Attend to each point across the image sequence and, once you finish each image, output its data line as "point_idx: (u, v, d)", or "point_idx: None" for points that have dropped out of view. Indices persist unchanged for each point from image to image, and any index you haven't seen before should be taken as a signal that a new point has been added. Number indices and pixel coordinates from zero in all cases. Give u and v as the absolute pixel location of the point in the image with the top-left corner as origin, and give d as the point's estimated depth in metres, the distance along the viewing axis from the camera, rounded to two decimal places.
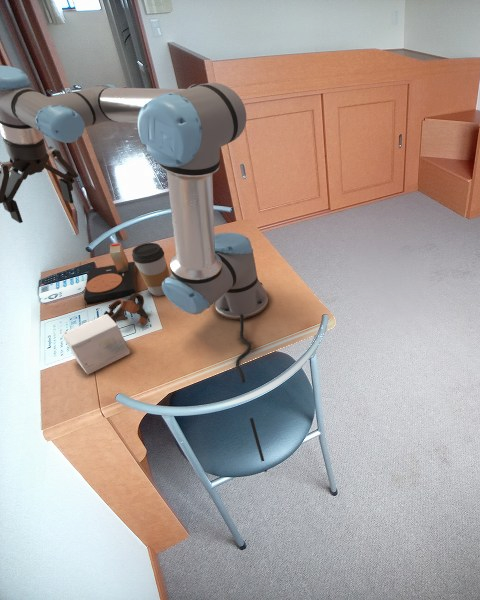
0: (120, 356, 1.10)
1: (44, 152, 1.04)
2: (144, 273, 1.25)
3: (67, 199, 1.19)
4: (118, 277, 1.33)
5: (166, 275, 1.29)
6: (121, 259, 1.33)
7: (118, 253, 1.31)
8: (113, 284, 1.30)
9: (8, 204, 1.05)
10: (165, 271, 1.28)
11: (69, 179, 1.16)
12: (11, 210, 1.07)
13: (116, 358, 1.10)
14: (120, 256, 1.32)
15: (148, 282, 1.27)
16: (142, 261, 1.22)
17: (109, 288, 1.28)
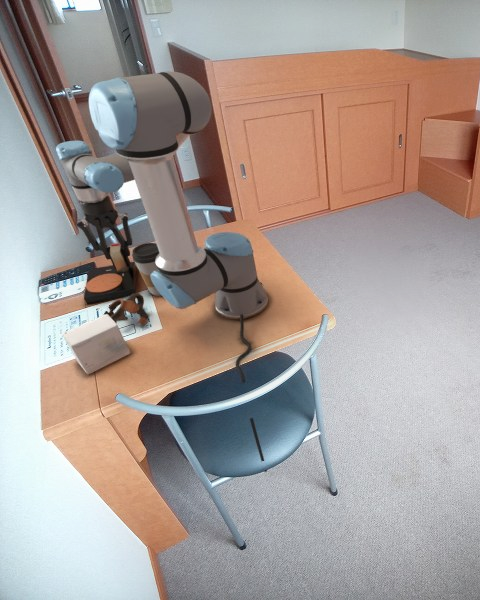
0: (120, 356, 1.10)
1: (103, 210, 1.22)
2: (144, 273, 1.25)
3: None
4: (118, 277, 1.33)
5: None
6: (121, 259, 1.33)
7: (118, 253, 1.31)
8: (113, 284, 1.30)
9: (105, 252, 1.32)
10: None
11: (123, 245, 1.32)
12: (108, 257, 1.33)
13: (116, 358, 1.10)
14: (120, 256, 1.32)
15: (148, 282, 1.27)
16: (142, 261, 1.22)
17: (109, 288, 1.28)
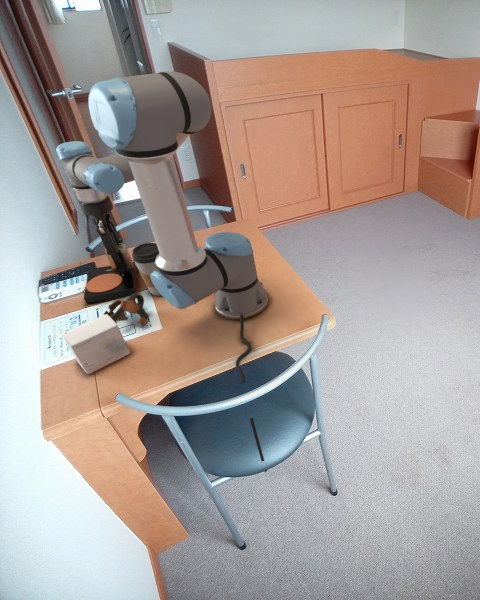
0: (120, 356, 1.10)
1: None
2: (144, 273, 1.25)
3: None
4: (118, 277, 1.33)
5: None
6: (128, 252, 1.36)
7: (125, 246, 1.34)
8: (113, 284, 1.30)
9: (118, 254, 1.31)
10: None
11: (119, 240, 1.35)
12: (120, 259, 1.33)
13: (116, 358, 1.10)
14: None
15: (148, 282, 1.27)
16: (142, 261, 1.22)
17: (109, 288, 1.28)
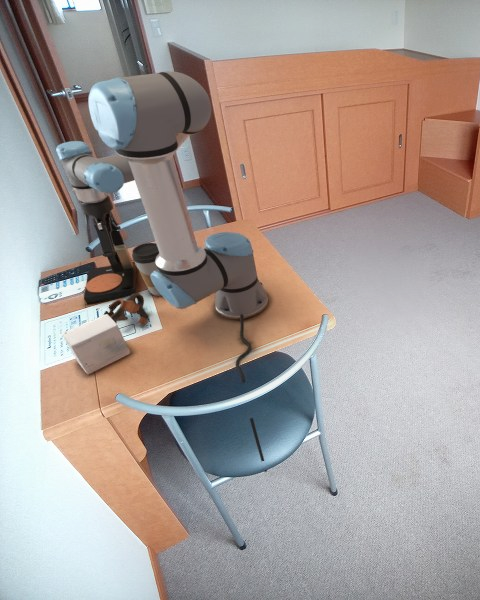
0: (120, 356, 1.10)
1: None
2: (144, 273, 1.25)
3: None
4: (118, 277, 1.33)
5: None
6: (128, 252, 1.36)
7: (125, 246, 1.34)
8: (113, 284, 1.30)
9: (114, 256, 1.26)
10: None
11: (117, 227, 1.36)
12: (117, 261, 1.28)
13: (116, 358, 1.10)
14: None
15: (148, 282, 1.27)
16: (142, 261, 1.22)
17: (109, 288, 1.28)
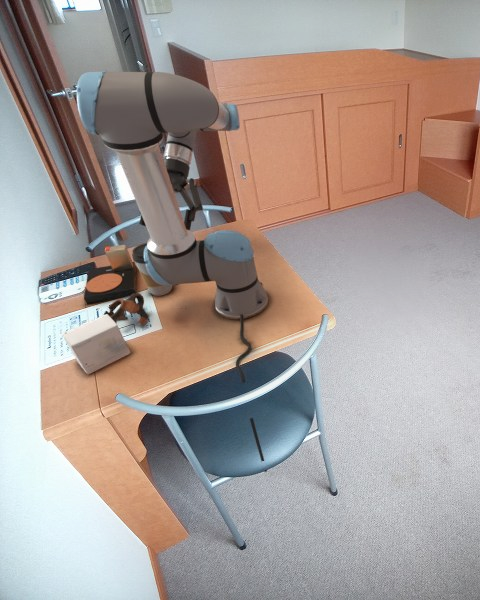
0: (120, 356, 1.10)
1: (175, 167, 1.29)
2: (144, 273, 1.25)
3: None
4: (118, 277, 1.33)
5: None
6: (128, 252, 1.36)
7: (125, 246, 1.34)
8: (113, 284, 1.30)
9: None
10: None
11: (190, 206, 1.30)
12: (141, 211, 1.31)
13: (116, 358, 1.10)
14: None
15: (148, 282, 1.27)
16: (142, 261, 1.22)
17: (109, 288, 1.28)
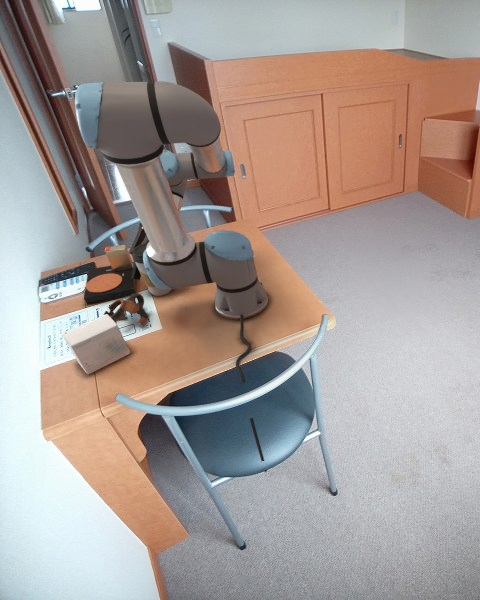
0: (120, 356, 1.10)
1: None
2: (144, 273, 1.25)
3: None
4: (118, 277, 1.33)
5: None
6: (128, 252, 1.36)
7: (125, 246, 1.34)
8: (113, 284, 1.30)
9: None
10: None
11: None
12: None
13: (116, 358, 1.10)
14: None
15: (148, 282, 1.27)
16: (142, 261, 1.22)
17: (109, 288, 1.28)
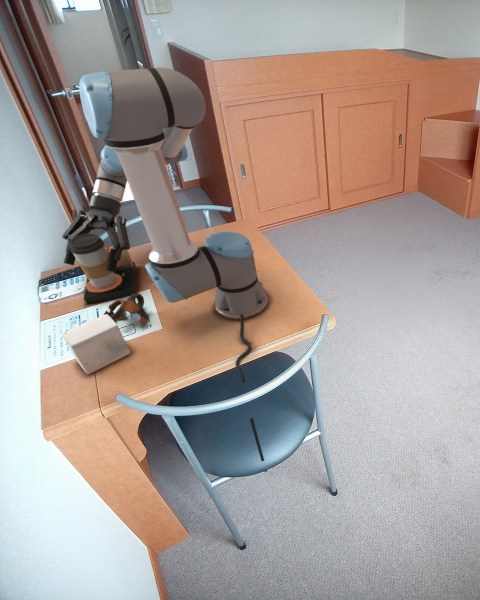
0: (120, 356, 1.10)
1: (101, 204, 1.23)
2: (82, 265, 1.22)
3: None
4: (118, 277, 1.33)
5: None
6: (128, 252, 1.36)
7: None
8: (113, 284, 1.30)
9: (68, 244, 1.25)
10: (106, 263, 1.25)
11: (115, 245, 1.23)
12: None
13: (116, 358, 1.10)
14: None
15: (88, 274, 1.24)
16: (79, 252, 1.19)
17: (109, 288, 1.28)
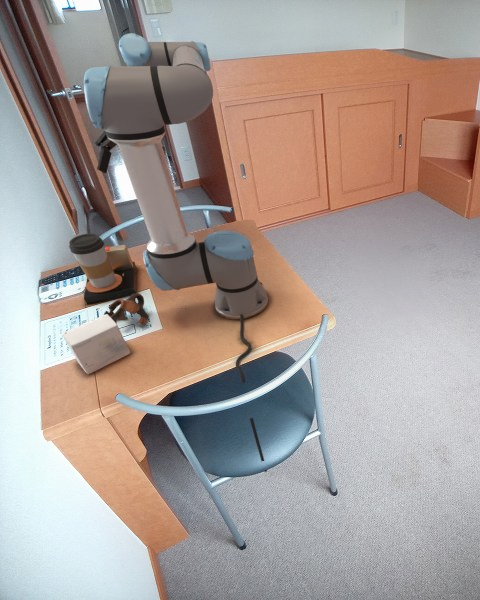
0: (120, 356, 1.10)
1: None
2: (82, 265, 1.22)
3: None
4: (118, 277, 1.33)
5: (107, 266, 1.26)
6: (128, 252, 1.36)
7: (125, 246, 1.34)
8: (113, 284, 1.30)
9: (101, 151, 1.25)
10: (106, 263, 1.25)
11: None
12: None
13: (116, 358, 1.10)
14: None
15: (88, 274, 1.24)
16: (79, 252, 1.19)
17: (109, 288, 1.28)
